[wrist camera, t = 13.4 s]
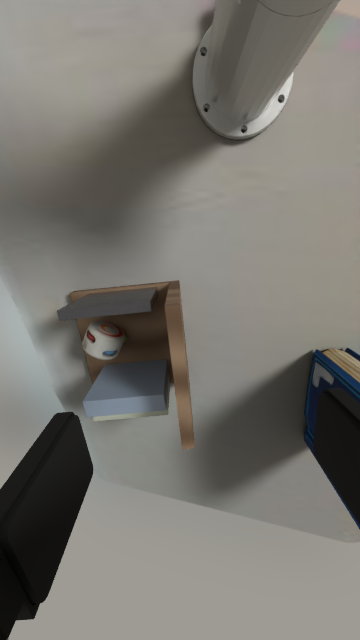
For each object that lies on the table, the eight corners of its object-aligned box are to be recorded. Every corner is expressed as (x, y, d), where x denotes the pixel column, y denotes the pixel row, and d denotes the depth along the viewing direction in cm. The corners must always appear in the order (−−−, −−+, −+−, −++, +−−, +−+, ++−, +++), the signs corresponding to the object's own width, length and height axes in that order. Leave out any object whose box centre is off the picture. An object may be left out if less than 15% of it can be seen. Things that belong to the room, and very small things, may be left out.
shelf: (73, 291, 38) (2, 322, 22) (179, 280, 37) (180, 304, 22) (96, 384, 43) (52, 460, 28) (188, 376, 43) (194, 448, 28)
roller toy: (121, 352, 40) (112, 369, 34) (86, 337, 39) (71, 352, 33) (131, 330, 38) (123, 344, 33) (95, 314, 37) (81, 326, 32)
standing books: (104, 364, 40) (82, 401, 31) (166, 359, 40) (163, 394, 31) (110, 387, 42) (90, 429, 32) (169, 382, 41) (167, 422, 32)
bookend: (88, 293, 36) (57, 310, 27) (157, 286, 36) (149, 301, 27) (90, 301, 37) (59, 320, 27) (158, 294, 36) (151, 311, 27)
